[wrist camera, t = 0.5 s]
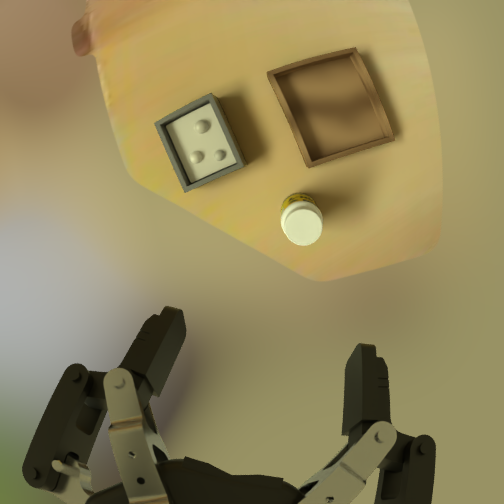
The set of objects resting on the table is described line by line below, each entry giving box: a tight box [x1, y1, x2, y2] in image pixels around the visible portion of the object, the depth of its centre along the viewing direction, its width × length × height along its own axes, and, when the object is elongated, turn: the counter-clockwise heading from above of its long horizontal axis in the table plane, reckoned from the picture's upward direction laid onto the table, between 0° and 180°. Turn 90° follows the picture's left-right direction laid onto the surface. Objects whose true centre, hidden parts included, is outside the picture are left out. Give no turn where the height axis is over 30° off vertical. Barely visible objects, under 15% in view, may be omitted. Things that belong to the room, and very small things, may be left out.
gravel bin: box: [154, 93, 247, 193], centre depth 32 cm, size 10×8×4 cm
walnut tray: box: [267, 47, 395, 168], centre depth 29 cm, size 13×12×3 cm
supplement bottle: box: [281, 193, 323, 246], centre depth 32 cm, size 5×5×8 cm
